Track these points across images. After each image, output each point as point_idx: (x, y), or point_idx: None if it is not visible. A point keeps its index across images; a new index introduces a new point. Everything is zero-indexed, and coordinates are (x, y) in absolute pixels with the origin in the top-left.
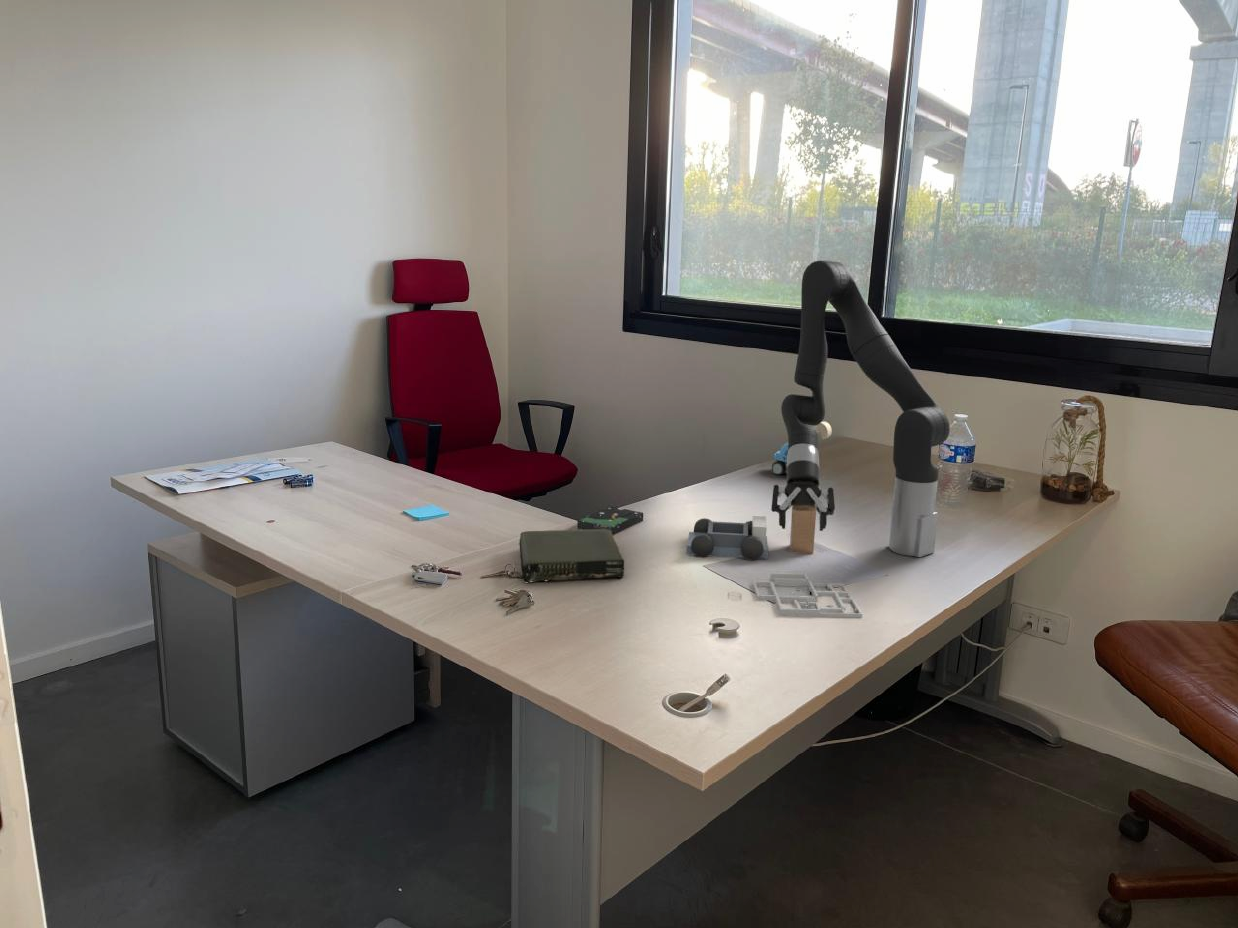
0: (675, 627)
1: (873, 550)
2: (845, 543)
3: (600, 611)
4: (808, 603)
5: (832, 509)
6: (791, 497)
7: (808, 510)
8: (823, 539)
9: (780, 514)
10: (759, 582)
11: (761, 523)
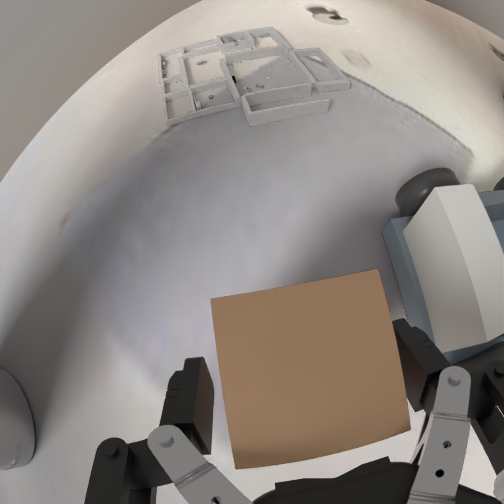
0: (372, 15)
1: (65, 411)
2: None
3: (450, 39)
4: (234, 42)
5: (112, 441)
6: (443, 451)
7: (271, 305)
8: None
9: (439, 358)
10: (336, 80)
11: (469, 230)
